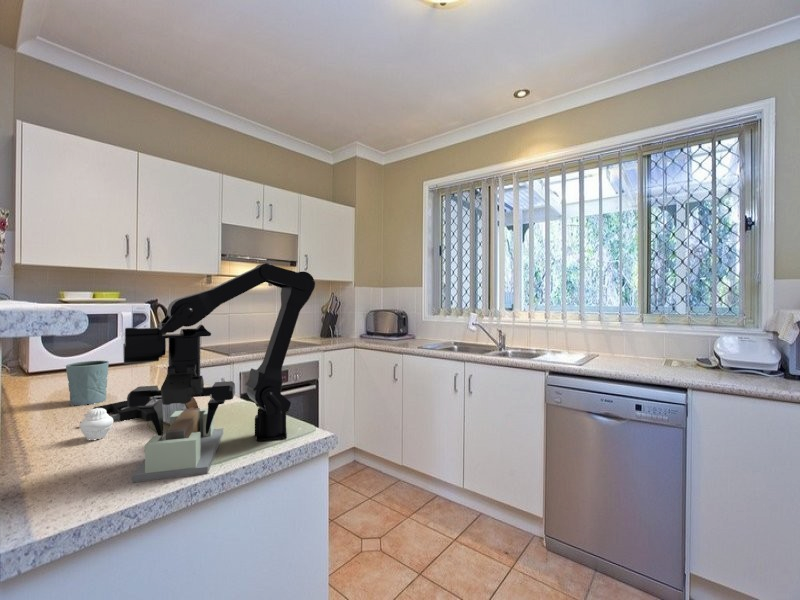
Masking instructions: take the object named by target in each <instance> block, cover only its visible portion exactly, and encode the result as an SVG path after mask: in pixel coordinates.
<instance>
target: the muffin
mask: <svg viewBox="0 0 800 600" xmlns="http://www.w3.org/2000/svg"><path fill="white" fill-rule="evenodd" d="M106 412H107V411H106V410H105V409H103V408H95V409H93V408H92V409H90V410H89V411H87V412H86V415H85V417H84V419H83V420H82V421H80V422H81V423H79V425H78V427H79V429H80V432H81V433H82V434H83V437H85V439H88V440H87V441H89V439H90V440H94V439H100V440H102V439H101V438H103V439H105V438H107V435H108V433H109V432H110V430H111V428H112V426H113V424H114V422H113V418H112V417H111V416H110V414H109V413H106ZM104 437H105V438H104ZM94 441H95V440H94Z"/></svg>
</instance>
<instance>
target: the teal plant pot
mask: <svg viewBox="0 0 800 600" xmlns="http://www.w3.org/2000/svg"><path fill="white" fill-rule="evenodd" d="M109 363H110V362H109V361H108V360H88V361H87V360H86V361H79V362H78V361H77V362H72V363H68V364H66V365H65V369H66V370H65V371H66V377H67V378H66V379H67V381H68V384H67V385H68V392H69V403H70V406H73V405H85V406H88V405H87V404H92V405H95V404H94V403H98V404H100V402H101V403H103V401H104V402H105V401H107V387H108V386H107V385H108V375H109Z"/></svg>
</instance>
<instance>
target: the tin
mask: <svg viewBox="0 0 800 600" xmlns="http://www.w3.org/2000/svg"><path fill="white" fill-rule="evenodd" d="M159 400H162V399H159ZM162 407H163V424H166V425H169V426H170V417H171V415H172V414H173V413H174V412H175V411H184V410H185V409H193V408H199V405H198V402H197V400H196V397H192V399H191V401H190V402H188V403H185V404H181V403H173V404H170V405H164V404H162Z"/></svg>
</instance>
